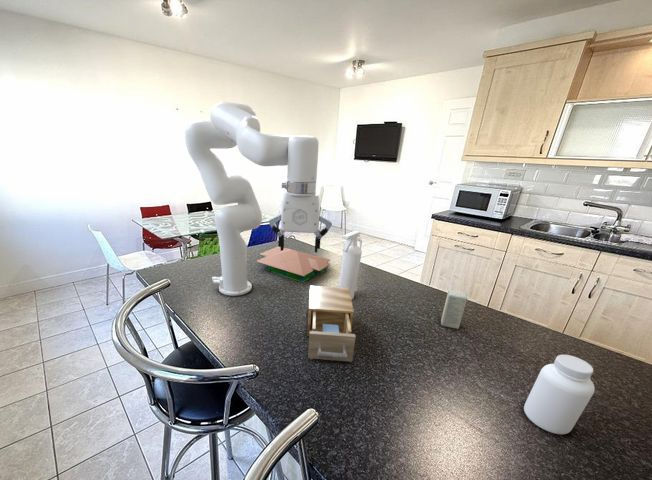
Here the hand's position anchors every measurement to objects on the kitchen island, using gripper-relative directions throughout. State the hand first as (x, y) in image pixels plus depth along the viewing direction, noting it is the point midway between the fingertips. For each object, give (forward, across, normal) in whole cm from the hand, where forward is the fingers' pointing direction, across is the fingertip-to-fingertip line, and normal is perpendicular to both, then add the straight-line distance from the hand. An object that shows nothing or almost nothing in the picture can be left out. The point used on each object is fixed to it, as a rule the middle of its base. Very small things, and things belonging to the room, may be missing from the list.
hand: (299, 250), depth 84 cm
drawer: (+23, +10, -14) cm, 29 cm away
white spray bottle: (+24, +18, +20) cm, 36 cm away
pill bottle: (+24, +55, -30) cm, 67 cm away
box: (+24, +49, +5) cm, 55 cm away
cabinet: (+24, +10, 0) cm, 26 cm away
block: (+22, +10, -12) cm, 27 cm away
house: (+24, -5, +45) cm, 51 cm away
